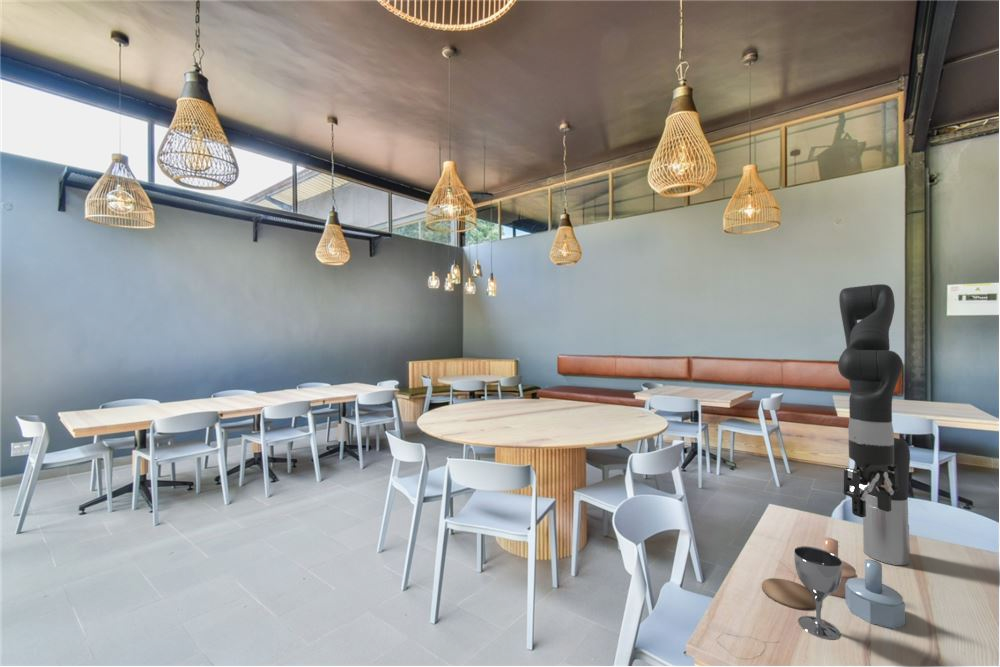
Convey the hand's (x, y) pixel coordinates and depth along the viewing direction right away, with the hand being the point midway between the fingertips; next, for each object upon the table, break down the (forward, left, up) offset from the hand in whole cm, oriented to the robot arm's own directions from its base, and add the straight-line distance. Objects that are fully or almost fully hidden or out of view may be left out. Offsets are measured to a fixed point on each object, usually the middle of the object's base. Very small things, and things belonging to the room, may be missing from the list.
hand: (871, 513), depth 91 cm
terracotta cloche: (-2, -10, -22) cm, 24 cm away
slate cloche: (0, 0, -22) cm, 22 cm away
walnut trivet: (+11, -11, -22) cm, 27 cm away
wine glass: (+16, -1, -22) cm, 27 cm away
